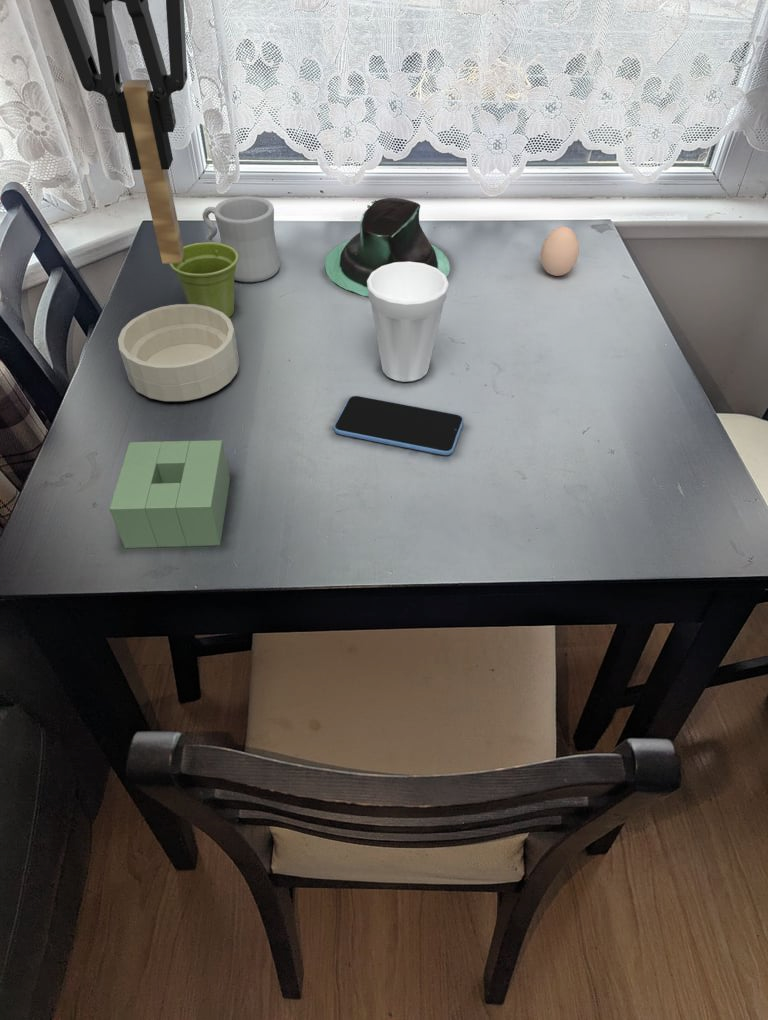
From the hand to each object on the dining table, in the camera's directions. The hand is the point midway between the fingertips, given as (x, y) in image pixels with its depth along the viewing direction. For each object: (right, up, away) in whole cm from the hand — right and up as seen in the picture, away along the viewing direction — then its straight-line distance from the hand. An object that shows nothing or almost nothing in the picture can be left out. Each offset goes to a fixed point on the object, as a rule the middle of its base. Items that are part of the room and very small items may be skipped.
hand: (153, 164), depth 76 cm
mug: (+1, +3, +41) cm, 41 cm away
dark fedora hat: (+24, +3, +42) cm, 49 cm away
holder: (+2, -36, +4) cm, 36 cm away
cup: (+27, -17, +23) cm, 39 cm away
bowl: (-3, -17, +22) cm, 28 cm away
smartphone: (+26, -26, +14) cm, 39 cm away
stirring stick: (0, -7, +8) cm, 10 cm away
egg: (+51, +2, +41) cm, 65 cm away
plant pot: (-1, -7, +32) cm, 33 cm away
